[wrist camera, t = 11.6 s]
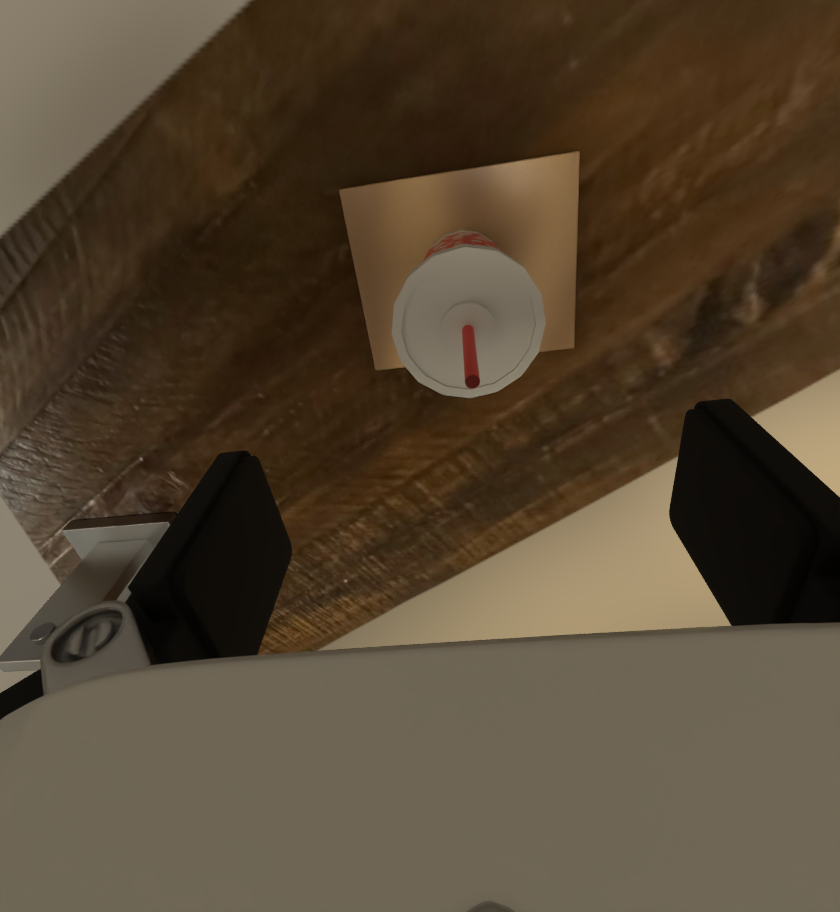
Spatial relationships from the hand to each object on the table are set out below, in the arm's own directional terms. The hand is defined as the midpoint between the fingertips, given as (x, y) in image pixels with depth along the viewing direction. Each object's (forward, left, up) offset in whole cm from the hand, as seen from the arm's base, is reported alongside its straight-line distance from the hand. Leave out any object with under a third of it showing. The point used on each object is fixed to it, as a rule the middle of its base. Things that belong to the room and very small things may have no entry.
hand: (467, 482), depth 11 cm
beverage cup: (0, 0, -20) cm, 20 cm away
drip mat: (0, 0, -20) cm, 20 cm away
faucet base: (-28, -19, -20) cm, 39 cm away
